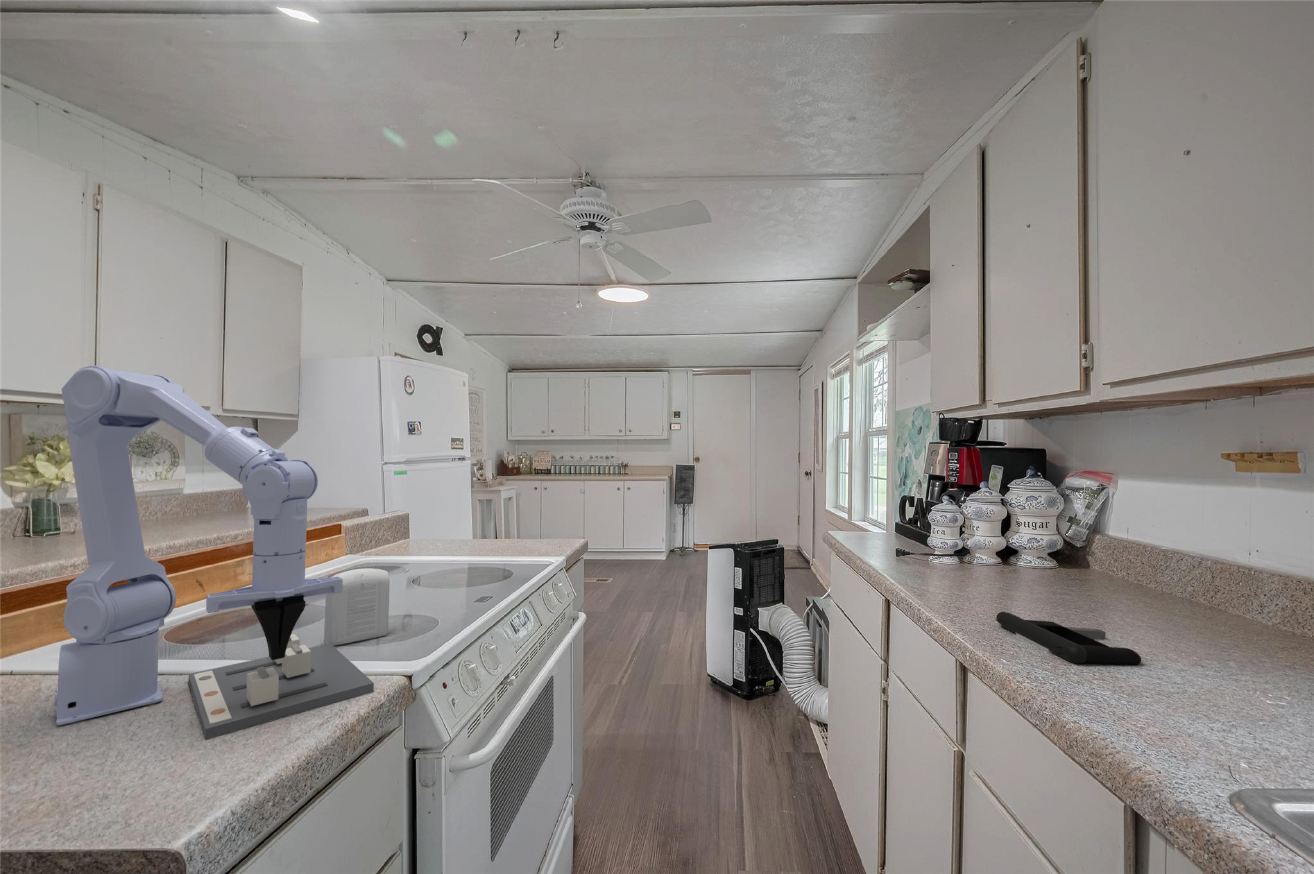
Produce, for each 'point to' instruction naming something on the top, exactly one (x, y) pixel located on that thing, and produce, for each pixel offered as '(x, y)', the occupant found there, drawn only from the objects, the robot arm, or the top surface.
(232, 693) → the switch board
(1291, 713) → the top surface
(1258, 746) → the top surface
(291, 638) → the far tab
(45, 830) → the top surface
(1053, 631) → the door handle
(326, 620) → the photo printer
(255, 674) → the near tab
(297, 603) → the robot arm
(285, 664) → the middle tab
